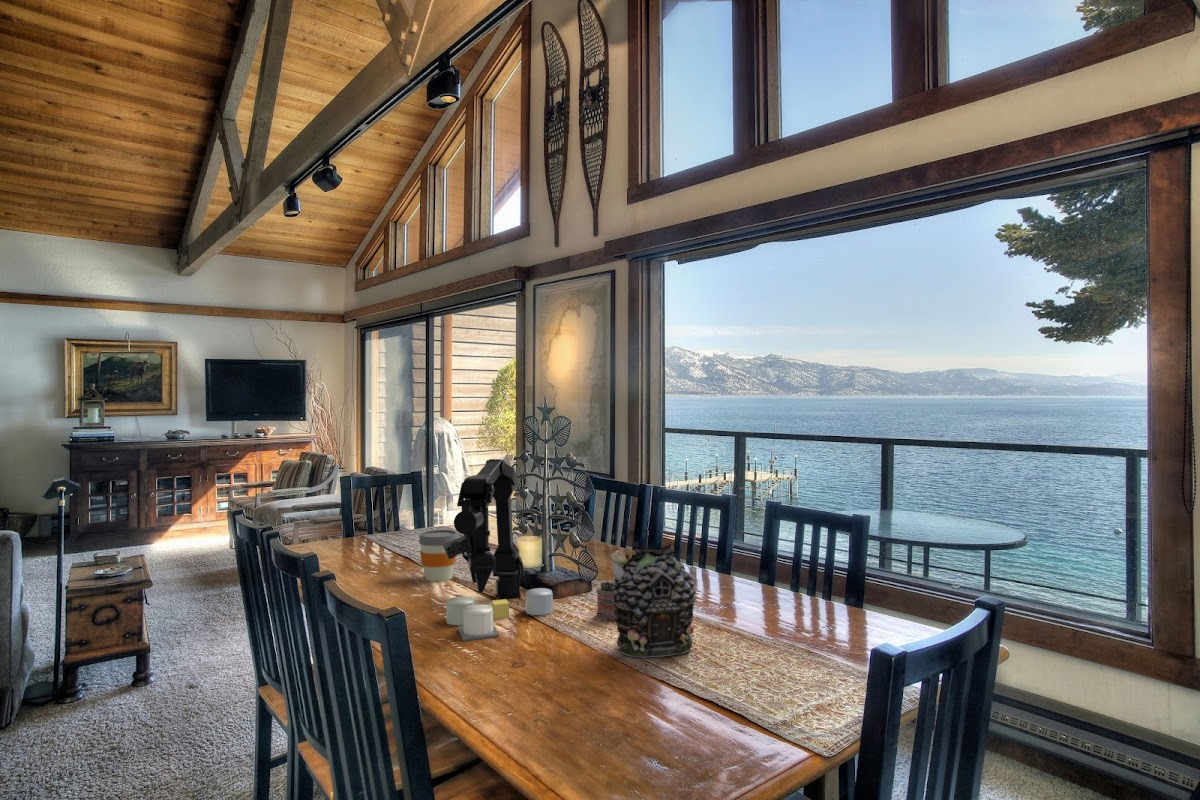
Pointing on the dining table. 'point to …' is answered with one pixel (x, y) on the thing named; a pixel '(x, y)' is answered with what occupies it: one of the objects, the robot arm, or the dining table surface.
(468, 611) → the cream cup
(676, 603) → the decorative house
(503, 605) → the yellow cube
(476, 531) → the robot arm
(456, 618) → the sage cup
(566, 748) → the dining table surface
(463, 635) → the slate coaster
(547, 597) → the light grey cylinder
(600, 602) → the lighter
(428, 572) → the reusable coffee cup
